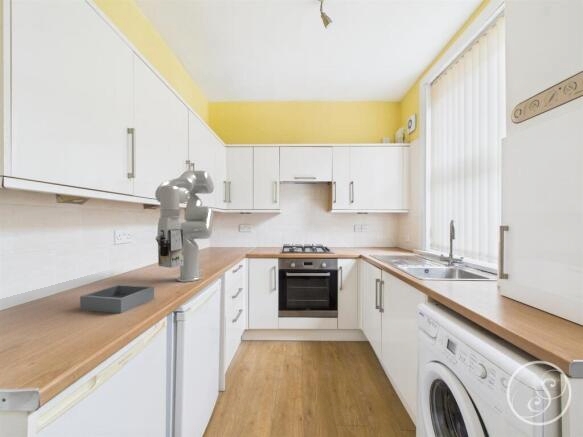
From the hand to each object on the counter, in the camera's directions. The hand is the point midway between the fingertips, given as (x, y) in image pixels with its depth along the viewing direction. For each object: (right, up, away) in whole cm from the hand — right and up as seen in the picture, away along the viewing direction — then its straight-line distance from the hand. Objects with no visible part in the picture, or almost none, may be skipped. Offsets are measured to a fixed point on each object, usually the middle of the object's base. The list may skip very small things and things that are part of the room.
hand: (170, 254), depth 109 cm
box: (-15, -18, -10) cm, 26 cm away
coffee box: (0, -5, 0) cm, 5 cm away
